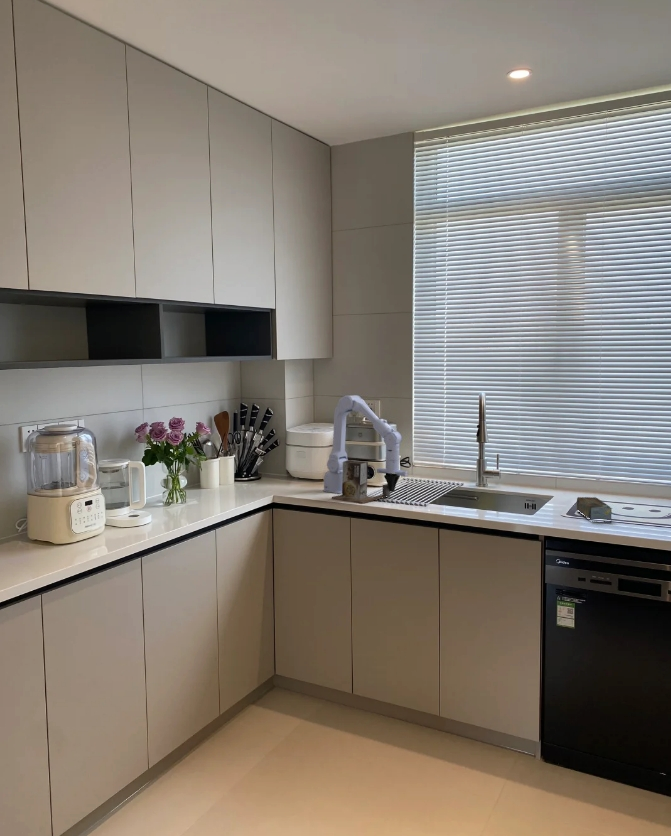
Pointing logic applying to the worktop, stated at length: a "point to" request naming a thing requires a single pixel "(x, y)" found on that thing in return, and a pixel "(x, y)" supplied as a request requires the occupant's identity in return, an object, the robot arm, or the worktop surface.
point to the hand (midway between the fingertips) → (391, 491)
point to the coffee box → (354, 479)
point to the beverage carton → (594, 508)
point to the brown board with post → (368, 499)
